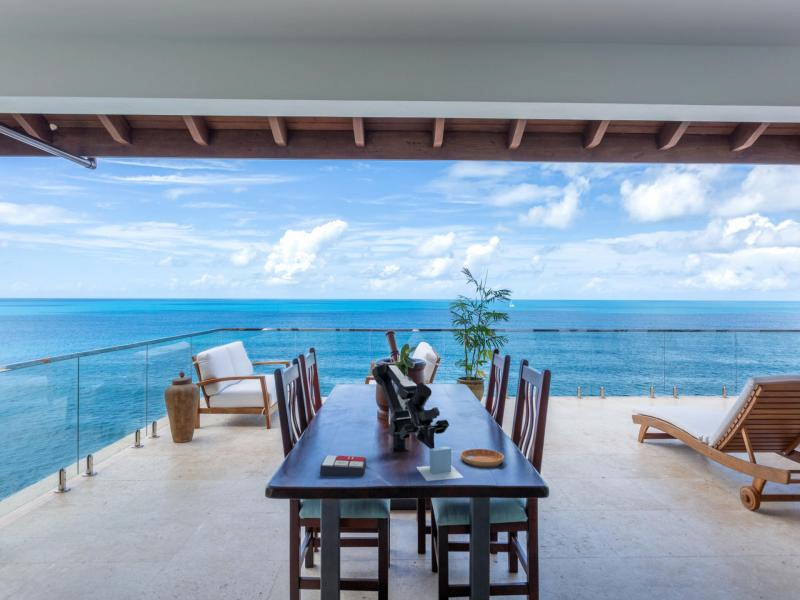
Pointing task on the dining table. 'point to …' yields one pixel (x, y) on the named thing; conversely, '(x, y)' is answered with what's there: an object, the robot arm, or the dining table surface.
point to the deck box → (440, 460)
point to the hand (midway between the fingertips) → (433, 449)
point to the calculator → (343, 466)
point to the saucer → (482, 457)
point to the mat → (448, 475)
